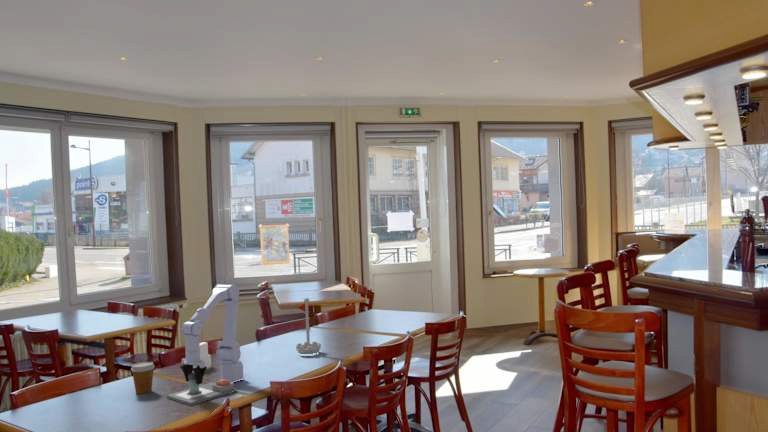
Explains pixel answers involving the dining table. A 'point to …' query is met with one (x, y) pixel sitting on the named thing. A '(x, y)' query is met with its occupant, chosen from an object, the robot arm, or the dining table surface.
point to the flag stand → (307, 347)
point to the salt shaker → (193, 384)
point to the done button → (222, 382)
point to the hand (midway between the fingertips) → (194, 382)
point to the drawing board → (201, 393)
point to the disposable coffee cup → (143, 377)
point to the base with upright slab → (204, 354)
